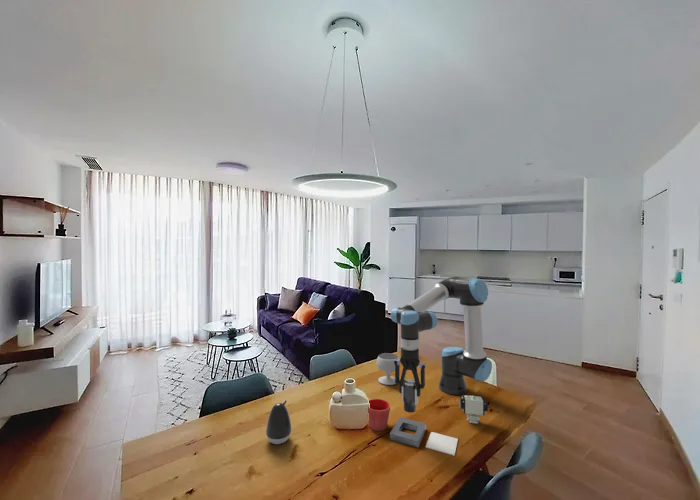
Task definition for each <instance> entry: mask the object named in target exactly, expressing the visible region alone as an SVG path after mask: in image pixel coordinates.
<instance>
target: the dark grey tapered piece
mask: <svg viewBox="0 0 700 500" xmlns="http://www.w3.org/2000/svg"><path fill="white" fill-rule="evenodd" d="M286 404H287V400H286V399H284V400H283V401H282V402H278V403H274V405H273V406H272V408H271V409H270V412H269V414H268V418H267V423H266V428H265V429H266V430H265V431H266V432H265V434H266V437H267V440H268V441H269V442H270V443H271V444H273V445H281V443H282V444H284V443H286V441H288V439H290V436H291V433H292V422H291V417H290V414H289V410H288V409H287V407H286Z"/></svg>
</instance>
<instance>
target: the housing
mask: <svg viewBox="0 0 700 500" xmlns="http://www.w3.org/2000/svg"><path fill="white" fill-rule="evenodd" d="M403 429H406V430H410V431H413V432H415V433H414V434H413V433H412V434H411V433H409V432H406V431H403ZM426 430H427V423H425V422H421V421H417V420H413V419H409V418H405V417H401V416H400V417H399V418H398V419H397V421H396V423H395V424H394V426H393V427H392V429H391V431H390V433H389V440H390V441H394V442H398V443H400V444H404V445H408V446H412V447H415V448H420V445H421V443H422V440H423V439H424V435H425V433H426Z"/></svg>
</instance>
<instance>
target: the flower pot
mask: <svg viewBox="0 0 700 500" xmlns="http://www.w3.org/2000/svg"><path fill="white" fill-rule="evenodd" d="M368 401H369V403H370V408H369V407H368V413H369V421H368V426H369V428H370V429H372V430H374V431H377V432H378V431H379V432H381V431H384V430H385V429H386V428H387V426H388V421H389V417H390V411H391V403H389V402H388V401H387V400H384V399H382V398H372V399H369V400H368Z"/></svg>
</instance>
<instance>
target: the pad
mask: <svg viewBox="0 0 700 500" xmlns="http://www.w3.org/2000/svg"><path fill="white" fill-rule="evenodd" d="M427 439H428V440H427V441H426V445H425V448H426V449H429V450H433V451H436V452H440V453H443V454H446V455H450V456H454V457H455V455H456V452H457V451H456V450H457V445H458V441H459V439H458V438H457V437H453V436H448V435H446V434H445V435H444V434H441V433H439V432H433V431H431V432H430V434H429V437H428V438H427Z"/></svg>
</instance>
